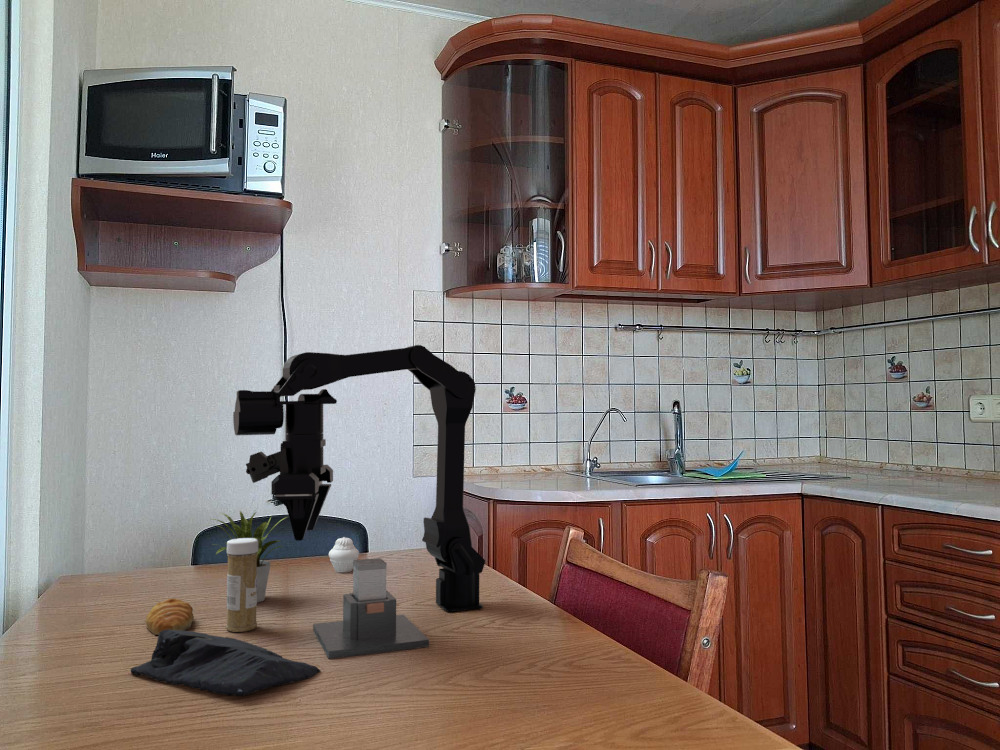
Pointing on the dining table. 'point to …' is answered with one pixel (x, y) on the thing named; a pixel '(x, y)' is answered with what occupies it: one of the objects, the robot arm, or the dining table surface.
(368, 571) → the column
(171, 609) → the pastry
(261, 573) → the house plant
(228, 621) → the sprinkles bottle
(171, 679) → the dark slate chunk
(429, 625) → the dining table surface
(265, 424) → the robot arm
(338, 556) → the muffin
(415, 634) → the stand
